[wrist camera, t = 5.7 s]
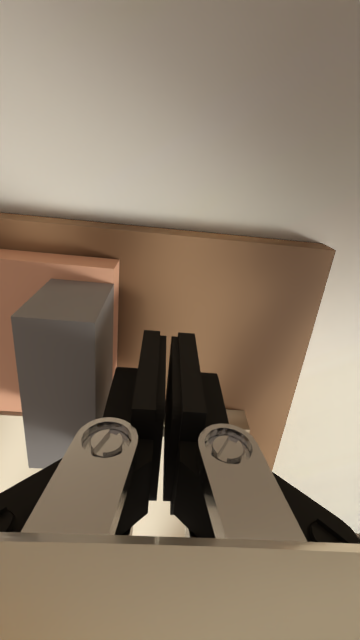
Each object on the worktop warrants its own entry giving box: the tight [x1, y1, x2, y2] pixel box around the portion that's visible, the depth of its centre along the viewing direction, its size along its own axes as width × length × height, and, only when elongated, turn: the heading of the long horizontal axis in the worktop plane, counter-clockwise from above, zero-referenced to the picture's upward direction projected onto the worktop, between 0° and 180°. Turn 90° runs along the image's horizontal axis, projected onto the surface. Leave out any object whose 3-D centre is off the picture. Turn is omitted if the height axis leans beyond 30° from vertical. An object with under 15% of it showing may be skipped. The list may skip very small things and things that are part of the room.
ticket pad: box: [0, 213, 336, 537], centre depth 16 cm, size 18×22×2 cm
